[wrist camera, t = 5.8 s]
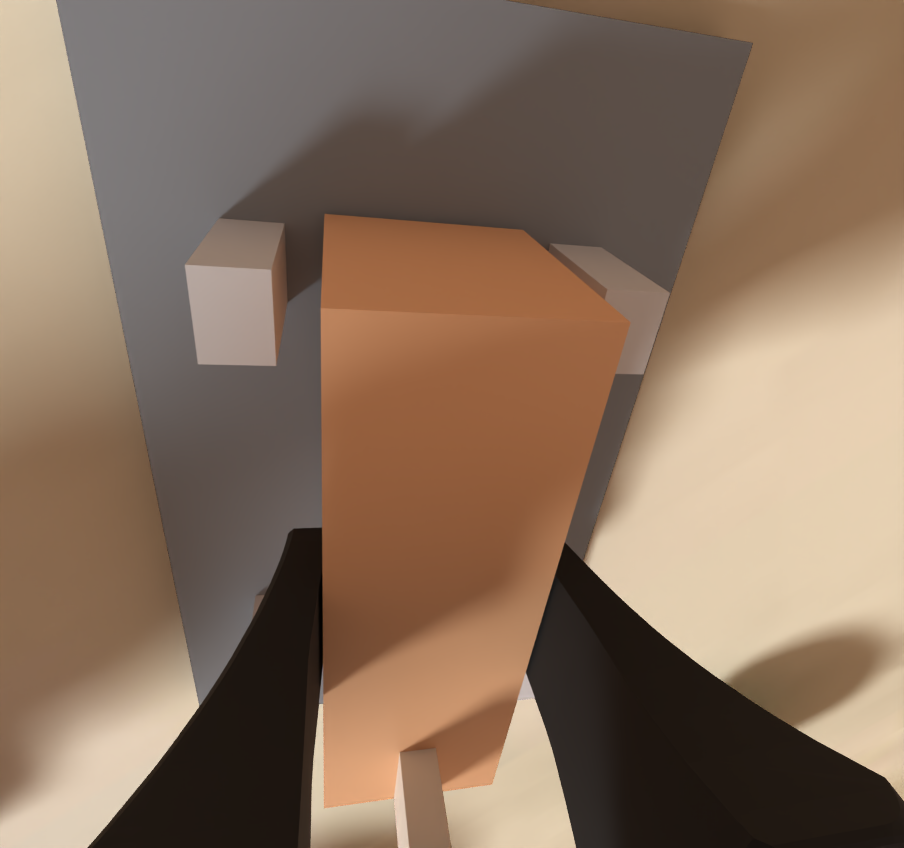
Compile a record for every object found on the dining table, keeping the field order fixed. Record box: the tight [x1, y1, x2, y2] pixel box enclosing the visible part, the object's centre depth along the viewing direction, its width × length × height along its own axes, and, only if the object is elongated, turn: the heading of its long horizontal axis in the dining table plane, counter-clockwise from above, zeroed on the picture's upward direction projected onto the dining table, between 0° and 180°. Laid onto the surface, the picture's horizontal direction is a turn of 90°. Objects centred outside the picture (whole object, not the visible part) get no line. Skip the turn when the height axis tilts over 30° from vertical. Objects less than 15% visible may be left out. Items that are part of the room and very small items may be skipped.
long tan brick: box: [321, 214, 631, 848], centre depth 11 cm, size 12×4×7 cm, turn 173°
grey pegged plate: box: [56, 0, 753, 706], centre depth 14 cm, size 20×12×4 cm, turn 173°
